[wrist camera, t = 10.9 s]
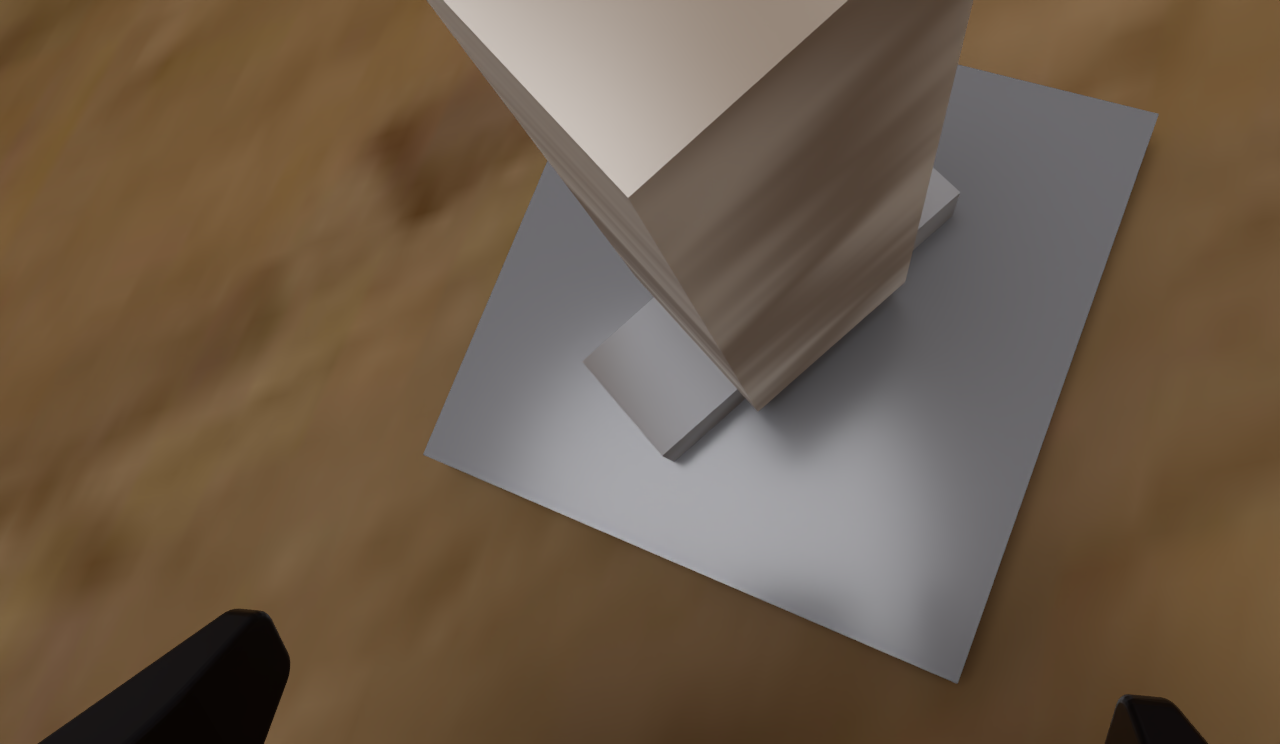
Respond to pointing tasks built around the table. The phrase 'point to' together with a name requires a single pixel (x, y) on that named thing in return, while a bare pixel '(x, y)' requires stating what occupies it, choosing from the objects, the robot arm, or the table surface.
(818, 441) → the slate plate
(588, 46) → the upright block on base
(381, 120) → the table surface
